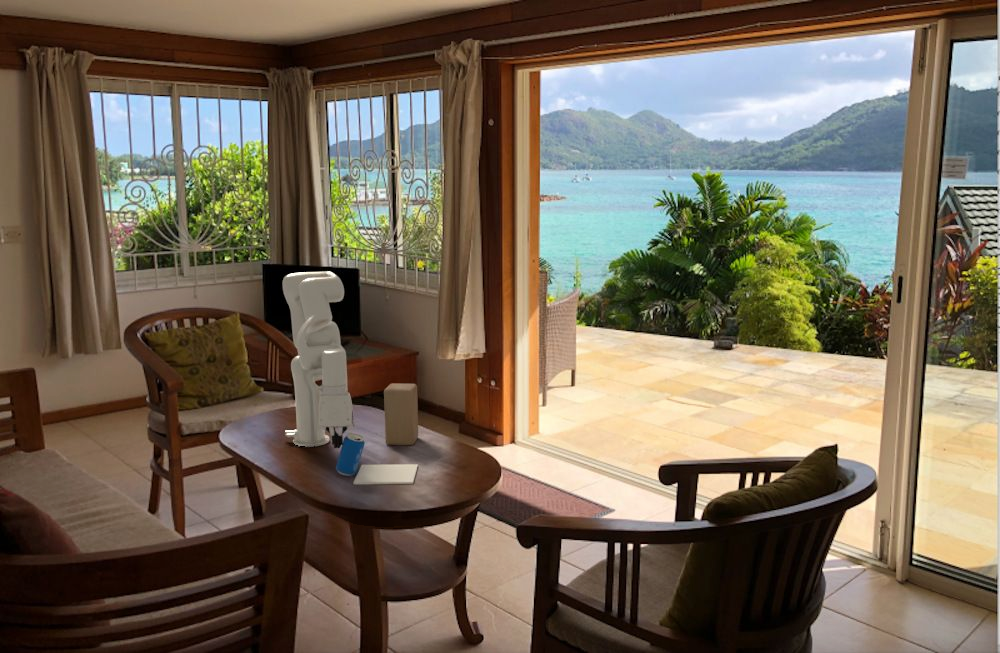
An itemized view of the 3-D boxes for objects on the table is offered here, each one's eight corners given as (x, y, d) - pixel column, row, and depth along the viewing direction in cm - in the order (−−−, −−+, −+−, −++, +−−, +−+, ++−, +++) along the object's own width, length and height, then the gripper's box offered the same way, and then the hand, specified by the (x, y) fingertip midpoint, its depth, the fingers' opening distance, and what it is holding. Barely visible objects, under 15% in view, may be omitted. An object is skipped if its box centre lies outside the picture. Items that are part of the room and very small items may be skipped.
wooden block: (418, 437, 299) (417, 383, 295) (413, 446, 289) (411, 390, 285) (391, 436, 300) (389, 382, 296) (385, 445, 290) (383, 389, 286)
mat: (353, 484, 253) (353, 482, 253) (362, 466, 269) (361, 464, 269) (412, 483, 253) (412, 482, 253) (417, 466, 269) (417, 464, 269)
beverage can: (345, 478, 256) (356, 442, 254) (330, 469, 259) (340, 434, 257) (359, 475, 262) (369, 440, 260) (344, 466, 265) (354, 431, 263)
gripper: (307, 392, 252) (310, 450, 255) (357, 392, 252) (359, 450, 255) (313, 386, 260) (316, 443, 263) (361, 386, 260) (363, 443, 263)
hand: (337, 446), depth 259 cm, fingers closed
